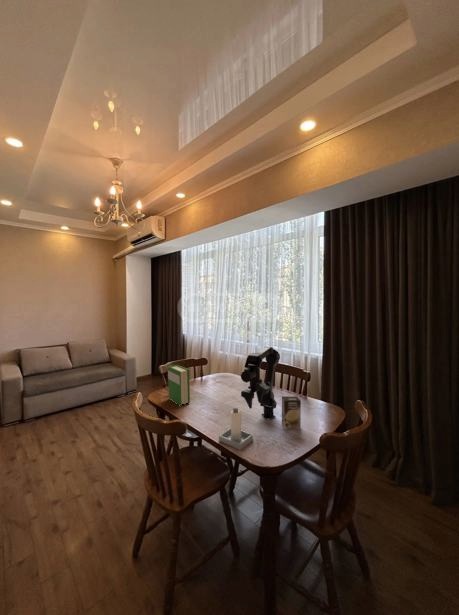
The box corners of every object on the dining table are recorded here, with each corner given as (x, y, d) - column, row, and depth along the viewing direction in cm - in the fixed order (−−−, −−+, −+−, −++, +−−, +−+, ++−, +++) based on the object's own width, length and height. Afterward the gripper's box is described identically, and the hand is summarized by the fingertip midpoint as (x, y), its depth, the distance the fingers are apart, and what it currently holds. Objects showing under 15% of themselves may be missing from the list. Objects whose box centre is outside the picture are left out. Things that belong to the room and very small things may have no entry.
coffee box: (284, 430, 135) (284, 400, 135) (281, 424, 142) (281, 396, 141) (301, 429, 136) (300, 400, 135) (297, 423, 142) (297, 395, 141)
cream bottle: (230, 436, 128) (230, 406, 128) (241, 436, 129) (240, 406, 128) (230, 442, 123) (230, 411, 123) (241, 442, 123) (241, 411, 123)
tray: (232, 432, 134) (232, 426, 134) (252, 440, 126) (252, 434, 126) (219, 441, 125) (218, 435, 125) (240, 450, 117) (239, 444, 117)
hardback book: (189, 404, 172) (189, 369, 171) (180, 407, 167) (179, 371, 167) (178, 396, 186) (177, 364, 185) (168, 399, 181) (167, 366, 180)
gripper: (258, 384, 124) (258, 415, 124) (276, 375, 139) (276, 403, 139) (240, 380, 131) (240, 410, 131) (258, 372, 146) (259, 398, 146)
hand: (255, 405), depth 137 cm, fingers open, 9 cm apart
